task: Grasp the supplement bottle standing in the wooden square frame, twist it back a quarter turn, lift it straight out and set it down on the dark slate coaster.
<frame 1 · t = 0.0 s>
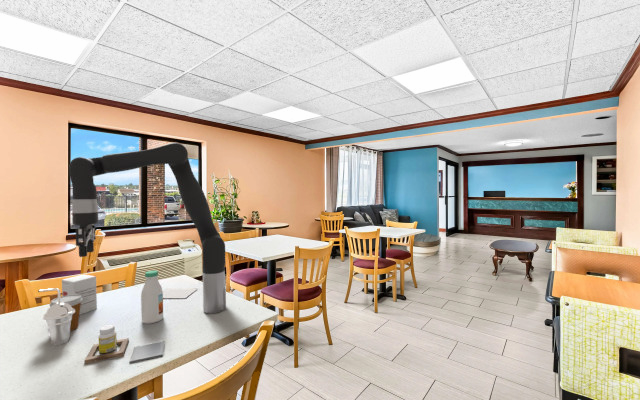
hand: (86, 254, 109), 29 cm above the table, fingers open, 8 cm apart
milk bottle: (152, 320, 119), on the table
disposable coffee cup: (67, 329, 111), on the table
supplement box: (80, 311, 128), on the table
wooden square frame: (108, 352, 96), on the table
white flat square: (162, 298, 145), on the table
drinking straw: (59, 342, 102), on the table
supplement bottle: (108, 352, 96), resting in wooden square frame
coaster: (148, 352, 95), on the table
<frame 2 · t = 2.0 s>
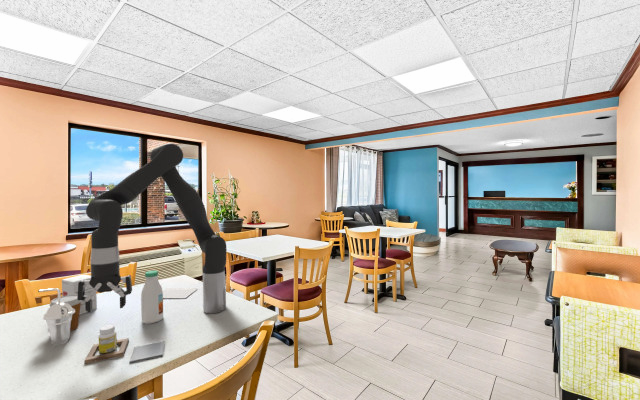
hand: (106, 309, 95), 14 cm above the table, fingers open, 8 cm apart
nothing on the table moved.
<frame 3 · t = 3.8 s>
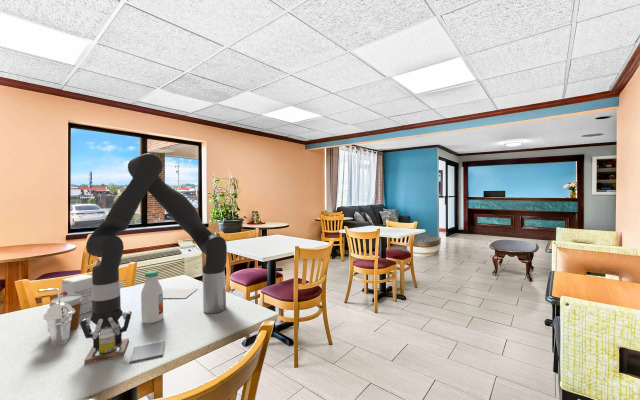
hand: (107, 346, 95), 2 cm above the table, fingers closed on supplement bottle, 4 cm apart
supplement bottle: (108, 352, 96), resting in wooden square frame, touching gripper
everything else where it was.
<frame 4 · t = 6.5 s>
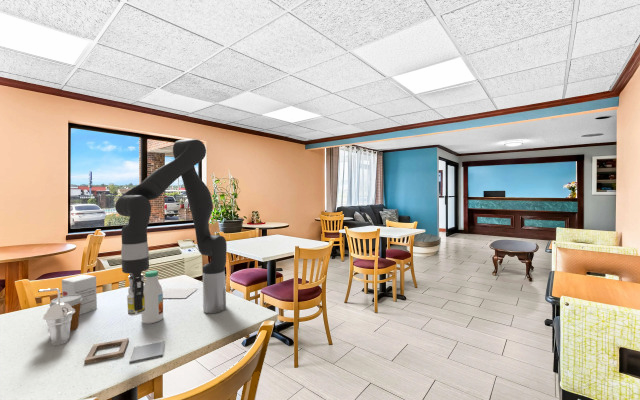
hand: (137, 307, 95), 15 cm above the table, fingers closed on supplement bottle, 4 cm apart
supplement bottle: (136, 313, 95), point 13 cm above the table, touching gripper
everything else where it was.
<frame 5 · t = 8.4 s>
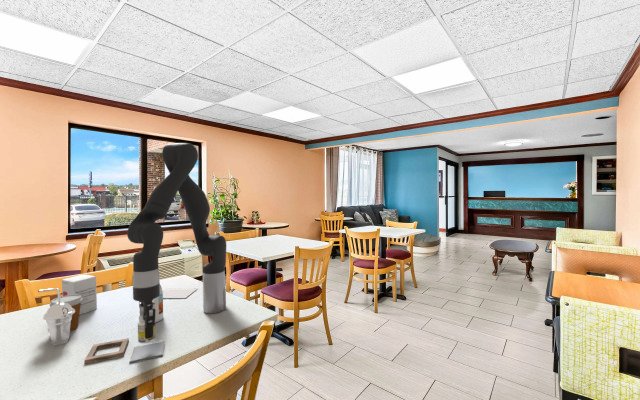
hand: (147, 334, 95), 6 cm above the table, fingers closed on supplement bottle, 4 cm apart
supplement bottle: (146, 340, 95), point 4 cm above the table, touching gripper
everything else where it was.
when the fingers open (4 cm above the table, at t = 9.7 s): supplement bottle drops 1 cm, resting on coaster.
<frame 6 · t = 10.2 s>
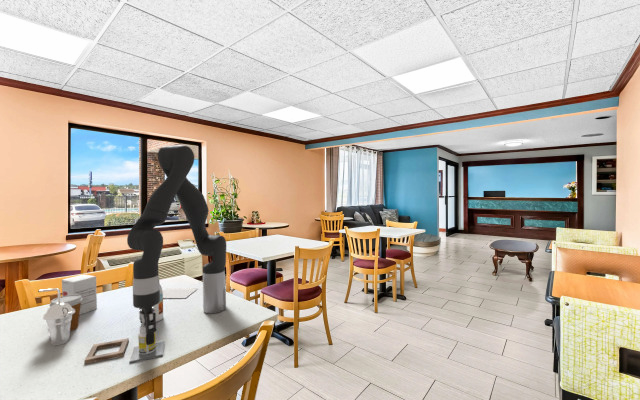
hand: (147, 338, 95), 5 cm above the table, fingers open, 8 cm apart
supplement bottle: (147, 351, 95), resting on coaster
everything else where it was.
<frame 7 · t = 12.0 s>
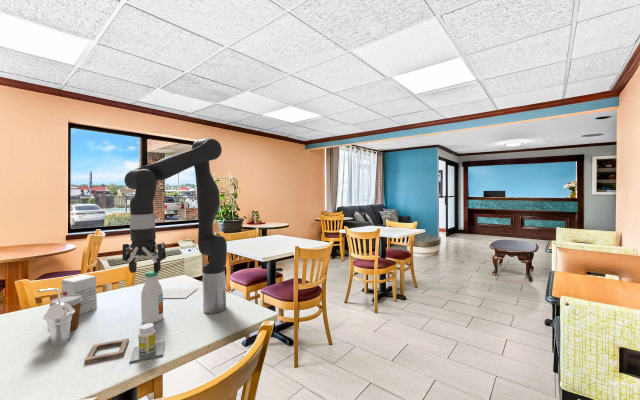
hand: (145, 272, 102), 24 cm above the table, fingers open, 8 cm apart
nothing on the table moved.
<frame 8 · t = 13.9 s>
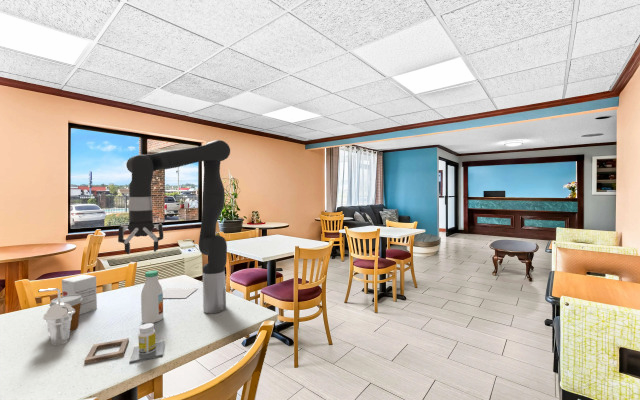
hand: (142, 252, 108), 30 cm above the table, fingers open, 8 cm apart
nothing on the table moved.
at the end: supplement bottle 0.2 cm from the coaster (horizontally); supplement bottle tilted 0°; supplement bottle resting on coaster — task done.
